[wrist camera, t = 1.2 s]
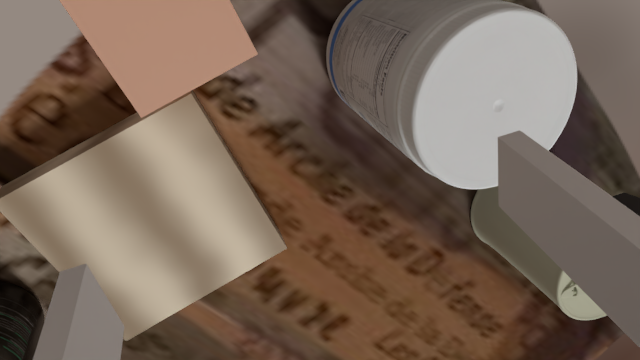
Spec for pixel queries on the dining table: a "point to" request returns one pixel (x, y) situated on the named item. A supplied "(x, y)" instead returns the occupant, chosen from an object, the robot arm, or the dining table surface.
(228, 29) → the terracotta block
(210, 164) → the ash slab
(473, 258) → the dining table surface
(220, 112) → the dining table surface
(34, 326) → the supplement bottle
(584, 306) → the can
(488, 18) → the supplement tub
